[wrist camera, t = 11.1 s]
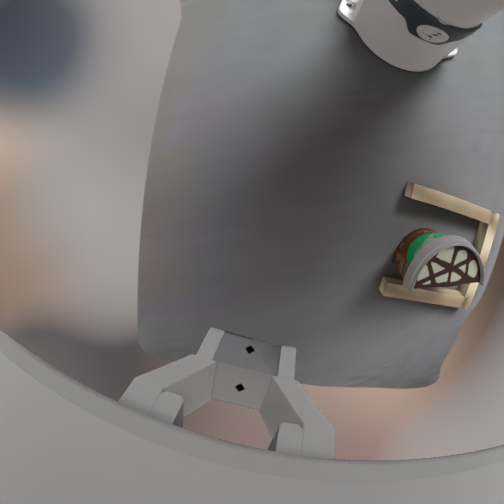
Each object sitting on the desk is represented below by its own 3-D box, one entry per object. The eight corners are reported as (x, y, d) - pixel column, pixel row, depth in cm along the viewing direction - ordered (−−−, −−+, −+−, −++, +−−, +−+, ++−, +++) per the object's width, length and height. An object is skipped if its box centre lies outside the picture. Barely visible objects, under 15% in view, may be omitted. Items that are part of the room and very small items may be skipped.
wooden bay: (407, 181, 34) (414, 183, 32) (490, 211, 33) (499, 214, 30) (378, 288, 39) (383, 295, 37) (461, 302, 38) (468, 309, 36)
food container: (457, 220, 34) (494, 239, 25) (452, 259, 36) (486, 285, 27) (386, 220, 36) (414, 241, 27) (384, 262, 38) (407, 293, 29)
